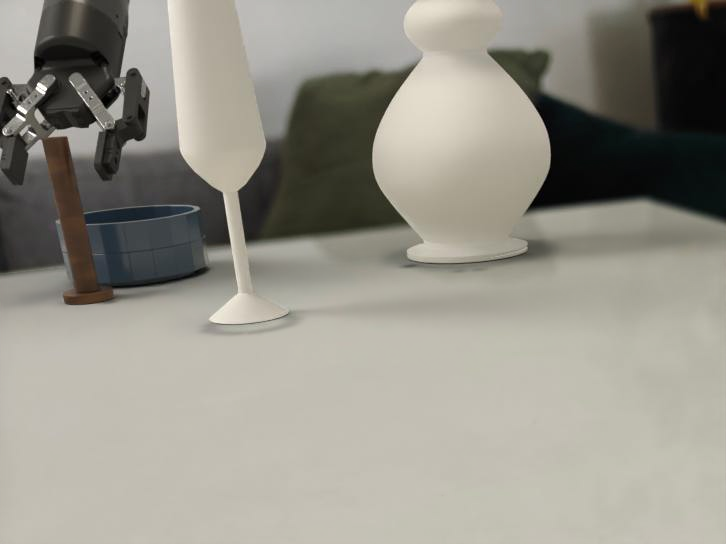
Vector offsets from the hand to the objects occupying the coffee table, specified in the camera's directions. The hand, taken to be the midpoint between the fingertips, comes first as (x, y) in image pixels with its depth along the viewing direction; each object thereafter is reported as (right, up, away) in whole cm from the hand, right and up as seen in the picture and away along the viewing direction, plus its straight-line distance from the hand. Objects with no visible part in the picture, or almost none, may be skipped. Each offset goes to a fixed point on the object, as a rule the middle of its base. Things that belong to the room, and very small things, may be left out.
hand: (57, 177), depth 100 cm
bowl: (+2, -3, +17) cm, 17 cm away
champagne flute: (+18, -14, -5) cm, 24 cm away
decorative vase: (+36, -1, +17) cm, 40 cm away
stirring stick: (+1, -9, +6) cm, 11 cm away
